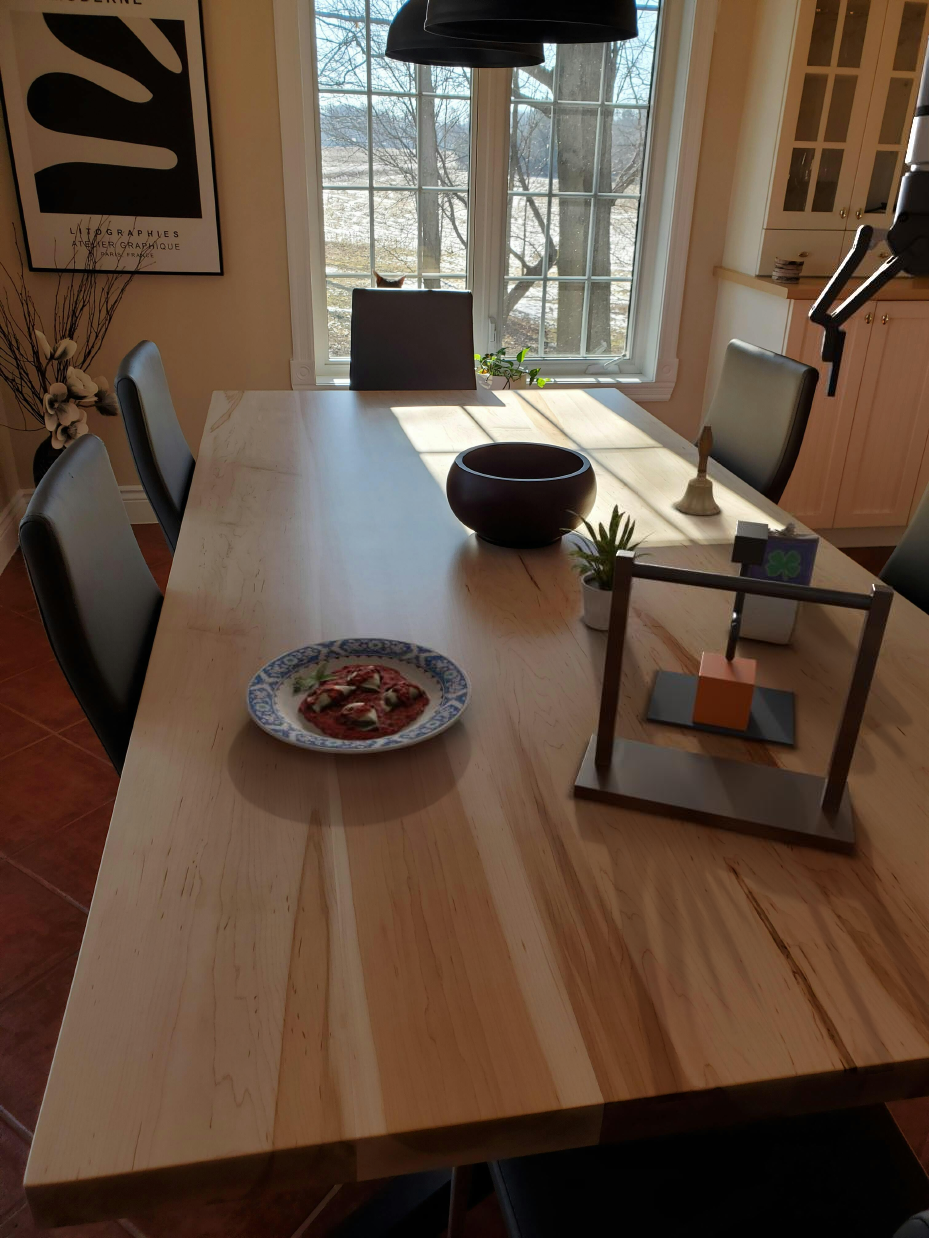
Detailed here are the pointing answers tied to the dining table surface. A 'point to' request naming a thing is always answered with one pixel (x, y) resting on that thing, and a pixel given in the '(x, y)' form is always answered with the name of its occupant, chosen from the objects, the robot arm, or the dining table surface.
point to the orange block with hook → (732, 648)
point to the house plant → (601, 581)
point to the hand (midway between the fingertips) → (899, 399)
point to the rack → (720, 784)
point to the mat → (764, 724)
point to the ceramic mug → (770, 619)
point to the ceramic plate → (358, 695)
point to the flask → (787, 557)
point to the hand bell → (700, 482)
